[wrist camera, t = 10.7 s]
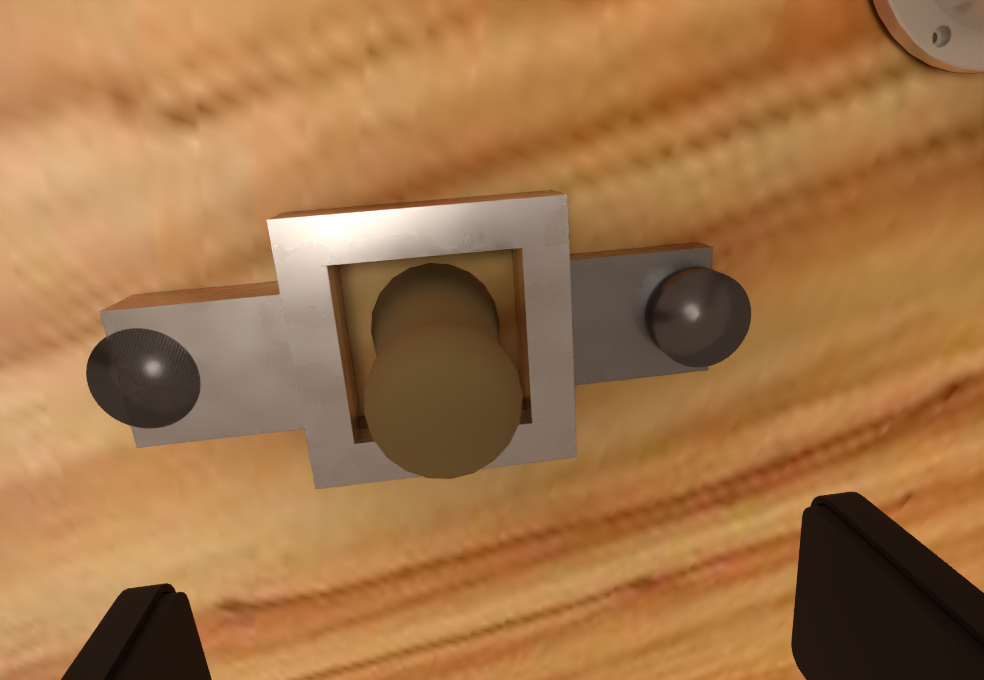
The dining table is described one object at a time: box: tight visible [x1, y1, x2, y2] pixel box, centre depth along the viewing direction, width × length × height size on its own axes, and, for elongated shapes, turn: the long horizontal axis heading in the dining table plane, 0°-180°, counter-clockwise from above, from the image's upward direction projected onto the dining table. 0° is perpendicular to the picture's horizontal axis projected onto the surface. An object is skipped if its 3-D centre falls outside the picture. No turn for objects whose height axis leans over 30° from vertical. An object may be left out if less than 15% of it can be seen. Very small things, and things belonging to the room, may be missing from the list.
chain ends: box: [86, 190, 751, 489], centre depth 28 cm, size 28×12×3 cm, turn 95°
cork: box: [364, 263, 523, 479], centre depth 24 cm, size 6×6×11 cm
